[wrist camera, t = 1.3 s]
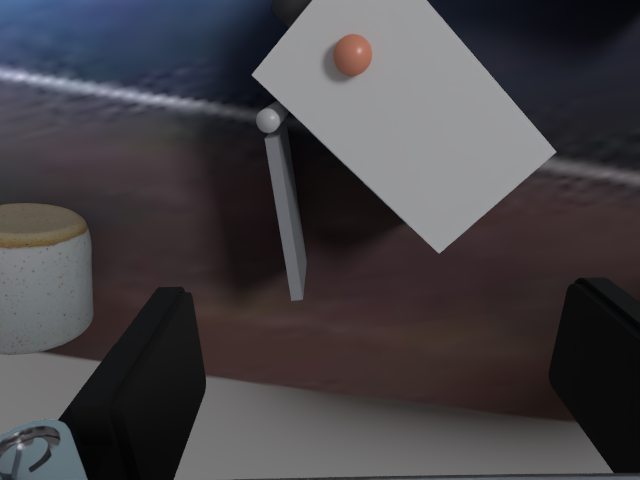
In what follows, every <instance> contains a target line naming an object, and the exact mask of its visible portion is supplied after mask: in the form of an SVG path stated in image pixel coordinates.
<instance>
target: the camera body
mask: <svg viewBox="0 0 640 480" xmlns="http://www.w3.org/2000/svg"><path fill="white" fill-rule="evenodd" d="M271 11H272V12H273V13H274V14H275V15H276V16H277V17H278V18H279V19H280V20H281V21H282V22H283V23H284V24H285V25H286V26H287V27H288V28H289V29H288V31H287V32H286V33H285V34H284V36H283V37H282V38H281V39H280V41H279V42H278V43H277V44H276V45H275V47H274V48H273V49H272V50H271V52H270V53H269V54H268V55H267V57H266V58H265V59H264V60H263V61H262V63H261V64H260V65H259V66H258V68H257V69H256V70H255V71H254V73H253V74H252V76H253V77H254V78H255V79H256V80H257V81H258V82H259V83H261V84H262V85H263V86H264V87H265V88H266V89H267V90H268V91H269V92H270V93H271V94H272V95H273V96H274V97H275V98H276V99H277V100H278V101H279V102H280V103H281V104H283V105H284V106H285V107H286V108H287V109H288V110H289V111H290V112H291V113H292V114H293V115H294V116H295V117H296V118H297V119H298V120H299V121H300V122H301V123H302V124H304V125H305V126H306V127H307V128H308V129H309V130H310V132H311V133H312V134H313V135H314V136H315V137H316V138H317V139H318V140H319V141H320V142H321V143H322V144H323V145H325V146H326V147H327V148H328V149H329V150H330V151H331V152H332V153H333V154H334V155H335V156H336V157H337V158H338V159H339V160H340V161H341V162H342V163H343V164H344V165H346V166H347V167H348V168H349V169H350V170H351V171H352V172H353V173H354V174H355V175H356V176H357V177H358V178H359V179H360V180H361V181H362V182H363V183H364V184H365V185H367V186H368V187H369V188H370V189H371V190H372V191H373V192H374V193H375V194H376V195H377V196H378V197H379V198H380V199H381V200H382V201H383V202H384V203H385V204H386V205H388V206H389V207H390V208H391V209H392V210H393V211H394V212H395V213H396V214H397V215H398V216H399V217H400V218H401V219H402V220H403V221H404V222H405V223H406V224H407V225H409V226H410V227H412V228H413V229H414V230H415V231H416V232H417V233H418V234H419V235H420V236H421V237H422V238H423V239H424V240H425V241H426V242H427V243H428V244H429V245H430V246H431V247H433V248H434V249H435V250H436V251H437V252H438V253H440V252H442V251H443V250H444V249H445V248H446V247H447V246H448V245H450V244H451V243H452V242H453V241H454V240H455V239H457V238H458V237H459V236H460V235H461V234H462V233H464V232H465V231H466V230H467V229H468V228H469V227H470V226H472V225H473V224H474V223H475V222H476V221H477V220H479V219H480V218H481V217H482V216H483V215H484V214H485V213H487V212H488V211H489V210H490V209H491V208H492V207H494V206H495V205H496V204H497V203H498V202H499V201H500V200H502V199H503V198H504V197H505V196H506V195H507V194H509V193H510V192H511V191H512V190H513V189H514V188H515V187H517V186H518V185H519V184H520V183H521V182H522V181H524V180H525V179H526V178H527V177H528V176H529V175H530V174H532V173H533V172H534V171H535V170H536V169H537V168H539V167H540V166H541V165H542V164H543V163H544V162H545V161H547V160H548V159H549V158H550V157H551V156H552V155H554V154H555V153H556V151H555V150H554V149H553V147H552V146H551V145H550V144H549V143H548V142H547V140H546V139H545V138H544V137H543V136H542V135H541V133H540V132H539V131H538V130H537V129H536V128H535V126H534V125H533V124H532V123H531V122H530V121H529V119H528V118H527V117H526V116H525V115H524V113H523V112H522V111H521V110H520V109H519V108H518V106H517V105H516V104H515V103H514V102H513V101H512V99H511V98H510V97H509V96H508V95H507V94H506V92H505V91H504V90H503V89H502V88H501V87H500V85H499V84H498V83H497V82H496V81H495V80H494V78H493V77H492V76H491V75H490V74H489V73H488V71H487V70H486V69H485V68H484V67H483V66H482V64H481V63H480V62H479V61H478V60H477V59H476V57H475V56H474V55H473V54H472V53H471V52H470V50H469V49H468V48H467V47H466V46H465V45H464V43H463V42H462V41H461V40H460V39H459V38H458V36H457V35H456V34H455V33H454V32H453V31H452V29H451V28H450V27H449V26H448V25H447V24H446V22H445V21H444V20H443V19H442V18H441V17H440V15H439V14H438V13H437V12H436V11H435V10H434V8H433V7H432V6H431V5H430V4H429V3H428V1H427V0H273V3H272V5H271Z"/></svg>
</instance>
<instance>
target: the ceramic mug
mask: <svg viewBox="0 0 640 480" xmlns="http://www.w3.org/2000/svg"><path fill="white" fill-rule="evenodd" d="M91 257H92V247H91V238H90V233H89V229H88V226H87V223H86V222H85V220H84V219H83V218H82V217H81V216H80V215H78V214H77V213H75V212H73V211H72V210H69V209H66V208H63V207H60V206H53V205H48V204H36V203H17V204H4V205H0V354H8V355H10V354H28V353H35V352H41V351H45V350H48V349H51V348H54V347H57V346H60V345H63V344H65V343H67V342H69V341H71V340H73V339H74V338H76V337H77V336H79V335H80V334H82V333H83V332H84V331H85V330H86V329H87V328H88V326H89V325H90V323H91V322H92V318H93V290H92V265H91Z"/></svg>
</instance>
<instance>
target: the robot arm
mask: <svg viewBox="0 0 640 480" xmlns="http://www.w3.org/2000/svg"><path fill="white" fill-rule="evenodd" d="M549 380H550V383H551V386H552V387H553V389H554V390H555V392H556V393H557V394H558V396H559V397H560V399H561V400H562V401H563V403H564V404H565V406H566V407H567V408H568V410H569V411H570V413H571V414H572V415H573V417H574V418H575V420H576V421H577V422H578V424H579V425H580V427H581V428H582V429H583V431H584V432H585V433H586V435H587V436H588V438H589V439H590V440H591V442H592V443H593V445H594V446H595V447H596V449H597V450H598V452H599V453H600V454H601V456H602V457H603V459H604V460H605V461H606V462H607V464H608V466H609V467H610V468H611V470H612V471H613V472H614V473H598V474H597V473H594V474H507V475H506V474H504V475H437V476H375V477H328V478H285V479H284V478H280V479H235V480H640V302H638V301H637V300H636V299H634V298H633V297H631V296H630V295H629V294H627V293H626V292H625V291H623V290H622V289H621V288H619V287H618V286H617V285H615V284H614V283H613V282H611V281H610V280H609V279H607V278H579V279H577V280H576V281H575V282H574V284H571V285H569V287H568V289H567V293H566V297H565V302H564V306H563V311H562V315H561V320H560V324H559V329H558V333H557V338H556V342H555V347H554V351H553V356H552V360H551V365H550V369H549ZM205 389H206V376H205V370H204V364H203V358H202V352H201V346H200V340H199V334H198V328H197V322H196V316H195V309H194V303H193V298H192V295H191V293H190V292H185V291H184V289H183V288H182V287H159V288H157V289H156V291H155V292H154V293H153V295H152V296H151V297H150V299H149V300H148V301H147V303H146V304H145V305H144V307H143V308H142V309H141V311H140V312H139V313H138V315H137V316H136V317H135V319H134V320H133V322H132V323H131V324H130V326H129V327H128V328H127V330H126V331H125V332H124V334H123V335H122V336H121V338H120V339H119V340H118V342H117V343H116V344H115V345H114V346H113V347H112V348H111V350H110V351H109V353H108V354H107V355H106V357H105V358H104V359H103V361H102V362H101V363H100V365H99V366H98V367H97V369H96V370H95V372H94V373H93V374H92V375H91V377H90V378H89V379H88V381H87V382H86V383H85V385H84V386H83V387H82V389H81V390H80V391H79V393H78V394H77V395H76V397H75V398H74V400H73V401H72V402H71V403H70V405H69V406H68V407H67V409H66V410H65V411H64V413H63V414H62V415H61V417H60V418H59V419H58V420H48V419H44V420H38V421H32V422H29V423H26V424H23V425H21V426H18V427H16V428H14V429H12V430H10V431H8V432H6V433H4V434H2V435H1V436H0V480H174V477H175V474H176V471H177V469H178V466H179V463H180V460H181V457H182V454H183V452H184V449H185V446H186V444H187V441H188V438H189V435H190V432H191V429H192V427H193V424H194V421H195V418H196V416H197V413H198V410H199V407H200V405H201V402H202V399H203V396H204V393H205Z"/></svg>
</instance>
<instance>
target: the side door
mask: <svg viewBox="0 0 640 480" xmlns="http://www.w3.org/2000/svg"><path fill="white" fill-rule="evenodd" d="M288 113H289V110H288V109H287V108H286V107H285V106H284V105H283V104H281V103H280V102H279V101H275V102H274V103H272V104H271V105H269V106H268V107H266V108H265V109H263V110H262V111H260V112H259V113H258V115H257V118H256V123H257V126H258V128H259V129H260V130H261V131H263V132H266V133H269V134H268V135H267V136H266V138H265V145H266V151H267V157H268V163H269V168H270V174H271V180H272V186H273V192H274V198H275V204H276V210H277V216H278V222H279V228H280V234H281V240H282V246H283V252H284V258H285V264H286V270H287V276H288V282H289V288H290V294H291V300H292V301H294V300H303V293H304V283H305V273H306V263H307V260H306V253H305V246H304V239H303V233H302V226H301V219H300V212H299V205H298V198H297V192H296V185H295V178H294V171H293V164H292V157H291V150H290V144H289V137H288V130H287V124H283V125H280V124H281V123H282V122H283V120H284V119H285V118H286V117H287V115H288Z"/></svg>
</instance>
